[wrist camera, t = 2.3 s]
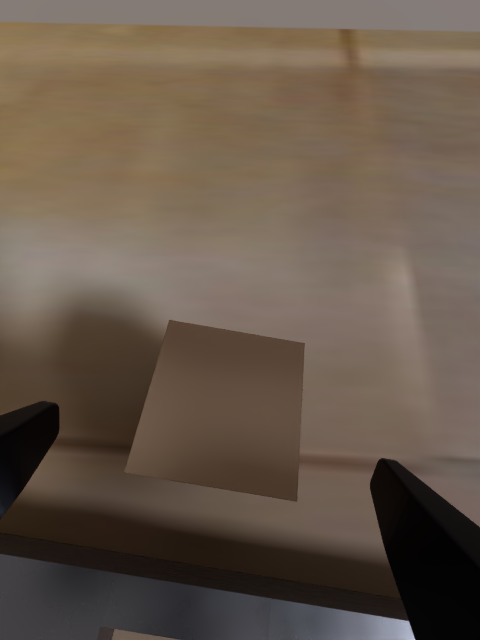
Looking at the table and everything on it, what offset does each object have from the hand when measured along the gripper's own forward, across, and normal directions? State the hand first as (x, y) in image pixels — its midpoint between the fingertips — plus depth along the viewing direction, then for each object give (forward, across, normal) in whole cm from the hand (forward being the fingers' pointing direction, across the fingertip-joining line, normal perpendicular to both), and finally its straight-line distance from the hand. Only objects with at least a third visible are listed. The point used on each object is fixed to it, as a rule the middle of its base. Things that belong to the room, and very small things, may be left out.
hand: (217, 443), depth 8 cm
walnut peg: (+7, 0, +6) cm, 9 cm away
